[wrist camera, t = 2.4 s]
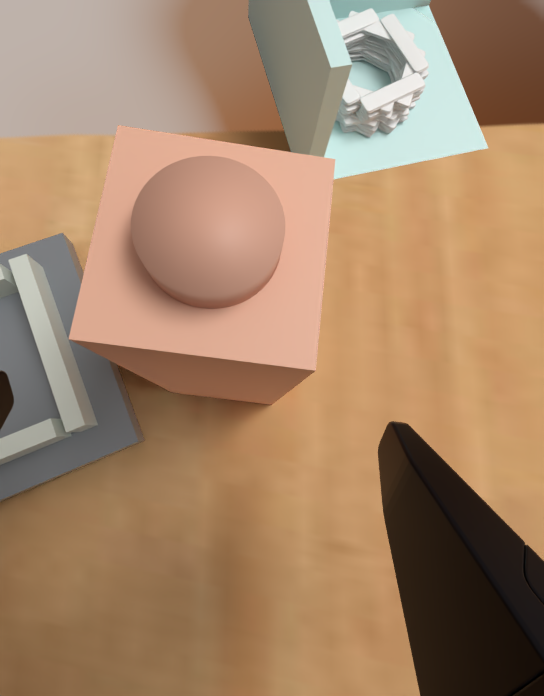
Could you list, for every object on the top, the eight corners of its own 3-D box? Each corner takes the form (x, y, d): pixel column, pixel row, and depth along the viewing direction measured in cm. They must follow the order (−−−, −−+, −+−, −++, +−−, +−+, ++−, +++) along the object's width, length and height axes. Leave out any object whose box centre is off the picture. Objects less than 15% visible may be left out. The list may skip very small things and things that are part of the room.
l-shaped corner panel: (301, 185, 22) (330, 67, 15) (248, 17, 24) (251, -158, 17) (488, 148, 24) (597, 24, 17) (423, -8, 26) (495, -179, 19)
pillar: (271, 404, 20) (323, 364, 7) (172, 392, 20) (49, 329, 7) (282, 310, 21) (343, 133, 8) (188, 297, 21) (105, 95, 8)
